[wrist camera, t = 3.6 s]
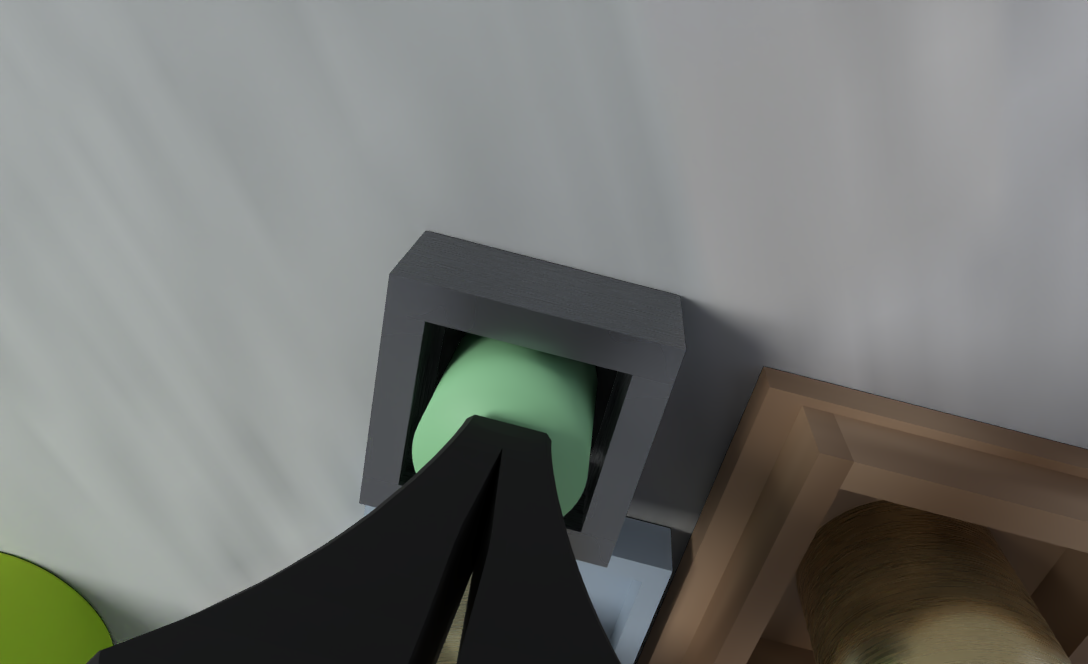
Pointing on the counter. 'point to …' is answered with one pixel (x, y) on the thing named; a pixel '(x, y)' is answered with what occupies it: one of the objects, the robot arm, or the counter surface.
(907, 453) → the wooden tray
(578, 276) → the button housing
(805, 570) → the cylinder
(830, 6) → the counter surface
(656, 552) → the light blue shallow tray
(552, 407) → the button
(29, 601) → the soap dispenser
